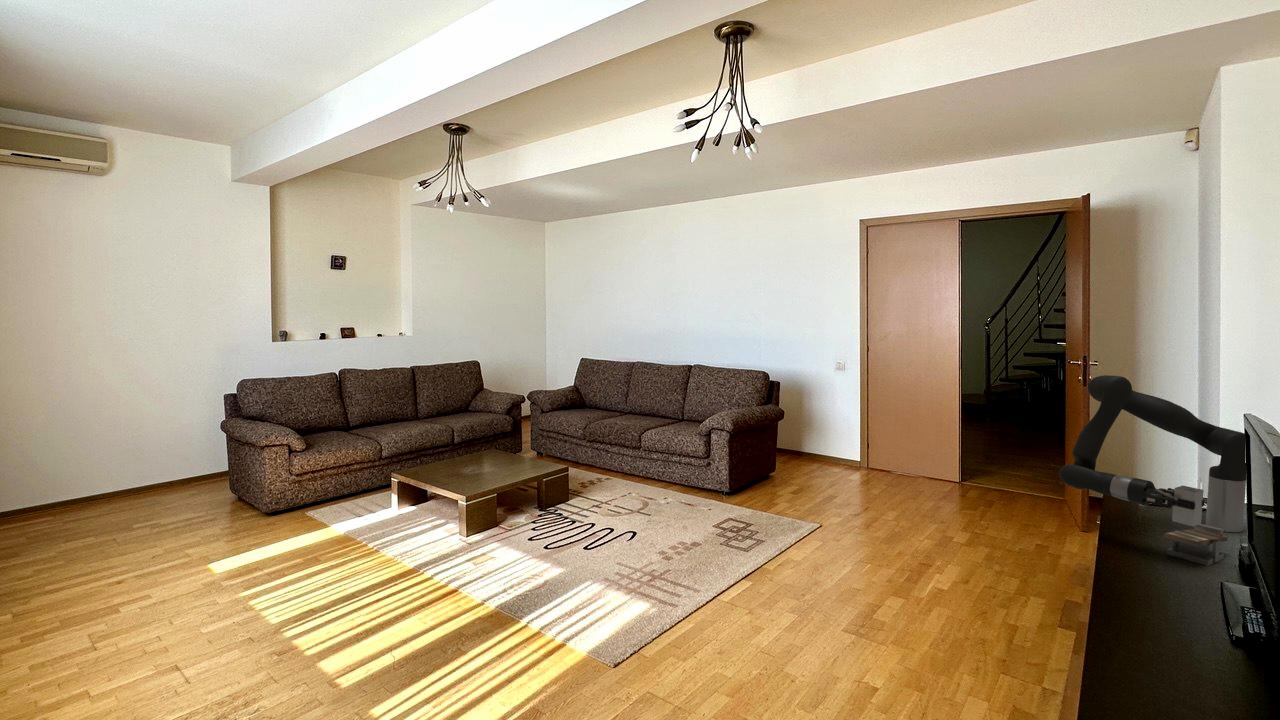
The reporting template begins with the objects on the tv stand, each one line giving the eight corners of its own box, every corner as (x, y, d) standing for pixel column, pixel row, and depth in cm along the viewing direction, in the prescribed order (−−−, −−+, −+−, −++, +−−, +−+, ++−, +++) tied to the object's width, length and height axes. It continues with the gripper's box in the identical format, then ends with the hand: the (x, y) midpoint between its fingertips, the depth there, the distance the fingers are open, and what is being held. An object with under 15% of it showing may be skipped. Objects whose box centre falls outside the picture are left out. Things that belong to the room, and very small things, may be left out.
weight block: (1180, 518, 192) (1182, 485, 191) (1201, 523, 187) (1203, 489, 186) (1172, 521, 189) (1174, 488, 188) (1192, 526, 185) (1195, 492, 184)
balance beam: (1194, 532, 200) (1195, 522, 200) (1227, 540, 193) (1228, 530, 193) (1163, 537, 190) (1165, 526, 190) (1197, 546, 183) (1198, 535, 183)
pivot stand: (1181, 547, 199) (1182, 527, 198) (1224, 558, 190) (1225, 537, 189) (1165, 553, 194) (1167, 533, 194) (1208, 566, 185) (1210, 544, 185)
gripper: (1120, 481, 196) (1188, 496, 182) (1144, 474, 203) (1211, 488, 188) (1119, 505, 197) (1186, 521, 182) (1142, 497, 204) (1209, 513, 189)
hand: (1199, 504), depth 185 cm, fingers closed on weight block, 5 cm apart
